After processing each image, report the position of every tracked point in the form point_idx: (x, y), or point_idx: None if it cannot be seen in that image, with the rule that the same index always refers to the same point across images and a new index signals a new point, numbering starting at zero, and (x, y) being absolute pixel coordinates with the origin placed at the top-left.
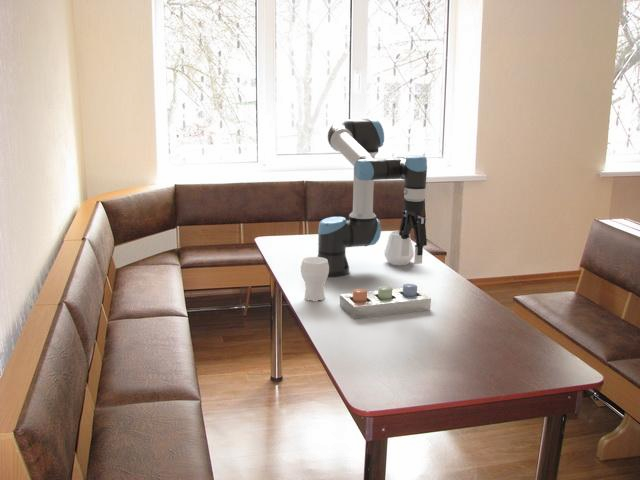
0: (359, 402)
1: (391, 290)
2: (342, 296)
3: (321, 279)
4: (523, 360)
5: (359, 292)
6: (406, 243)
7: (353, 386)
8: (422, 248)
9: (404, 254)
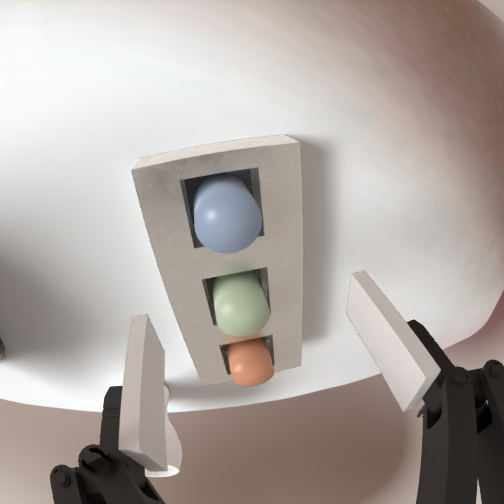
0: (476, 329)
1: (264, 301)
2: (220, 382)
3: (172, 430)
4: None
5: (263, 375)
6: (153, 421)
7: (460, 335)
8: (447, 359)
9: (158, 350)
